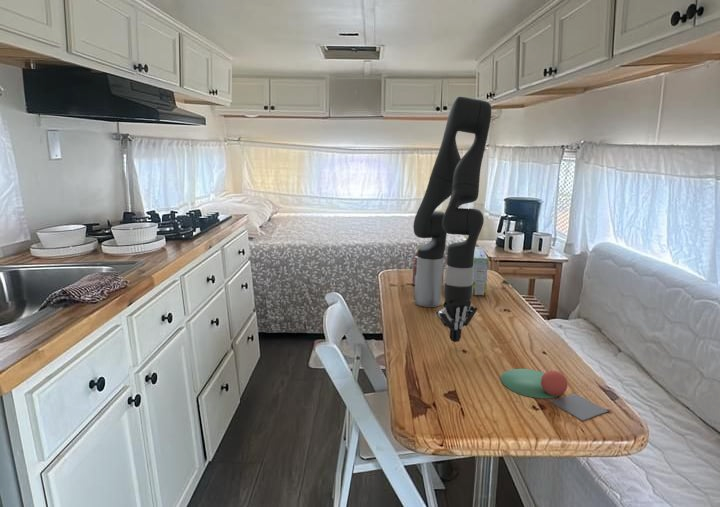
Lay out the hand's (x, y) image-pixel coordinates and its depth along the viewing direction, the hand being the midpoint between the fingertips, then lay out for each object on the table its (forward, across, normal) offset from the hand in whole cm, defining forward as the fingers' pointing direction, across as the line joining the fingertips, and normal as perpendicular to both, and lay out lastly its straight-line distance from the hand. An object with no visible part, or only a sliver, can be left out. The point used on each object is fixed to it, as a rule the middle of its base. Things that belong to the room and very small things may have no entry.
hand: (454, 340), depth 128 cm
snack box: (+2, -44, -42) cm, 61 cm away
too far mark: (+2, -4, +37) cm, 37 cm away
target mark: (+2, -3, +25) cm, 25 cm away
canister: (+2, -29, -54) cm, 61 cm away
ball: (-1, -3, +31) cm, 31 cm away
